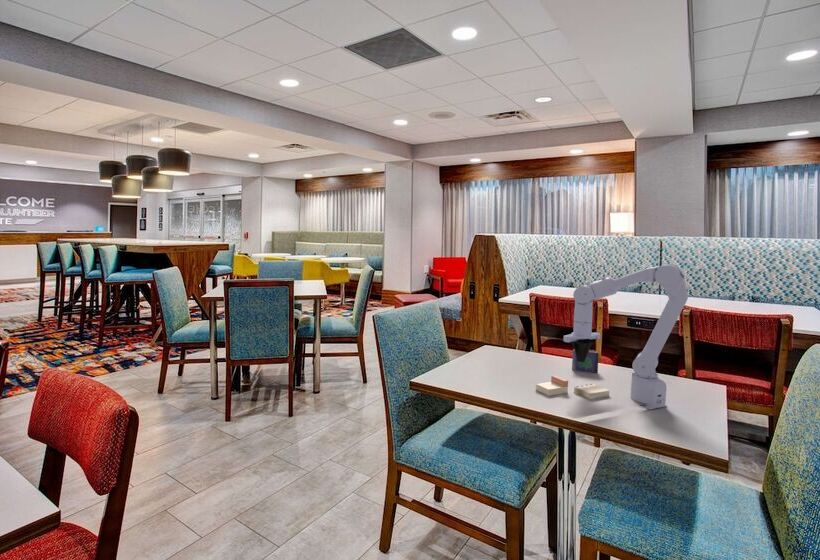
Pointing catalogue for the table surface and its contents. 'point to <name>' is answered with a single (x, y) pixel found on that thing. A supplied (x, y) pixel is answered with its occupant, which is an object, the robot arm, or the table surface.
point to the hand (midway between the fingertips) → (580, 361)
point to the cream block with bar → (553, 386)
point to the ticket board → (591, 391)
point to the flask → (586, 362)
